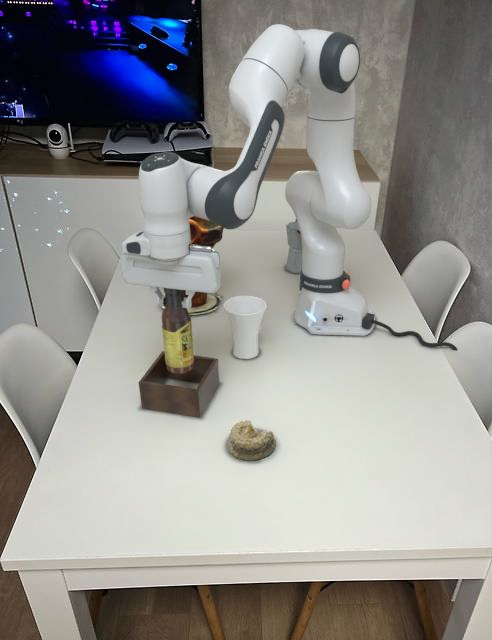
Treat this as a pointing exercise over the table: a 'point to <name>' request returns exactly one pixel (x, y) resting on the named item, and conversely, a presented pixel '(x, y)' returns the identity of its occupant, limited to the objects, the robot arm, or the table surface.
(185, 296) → the decorative vase
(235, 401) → the table surface
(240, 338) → the cup
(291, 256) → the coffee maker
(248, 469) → the table surface
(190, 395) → the caddy
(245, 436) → the cake
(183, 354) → the sauce bottle
